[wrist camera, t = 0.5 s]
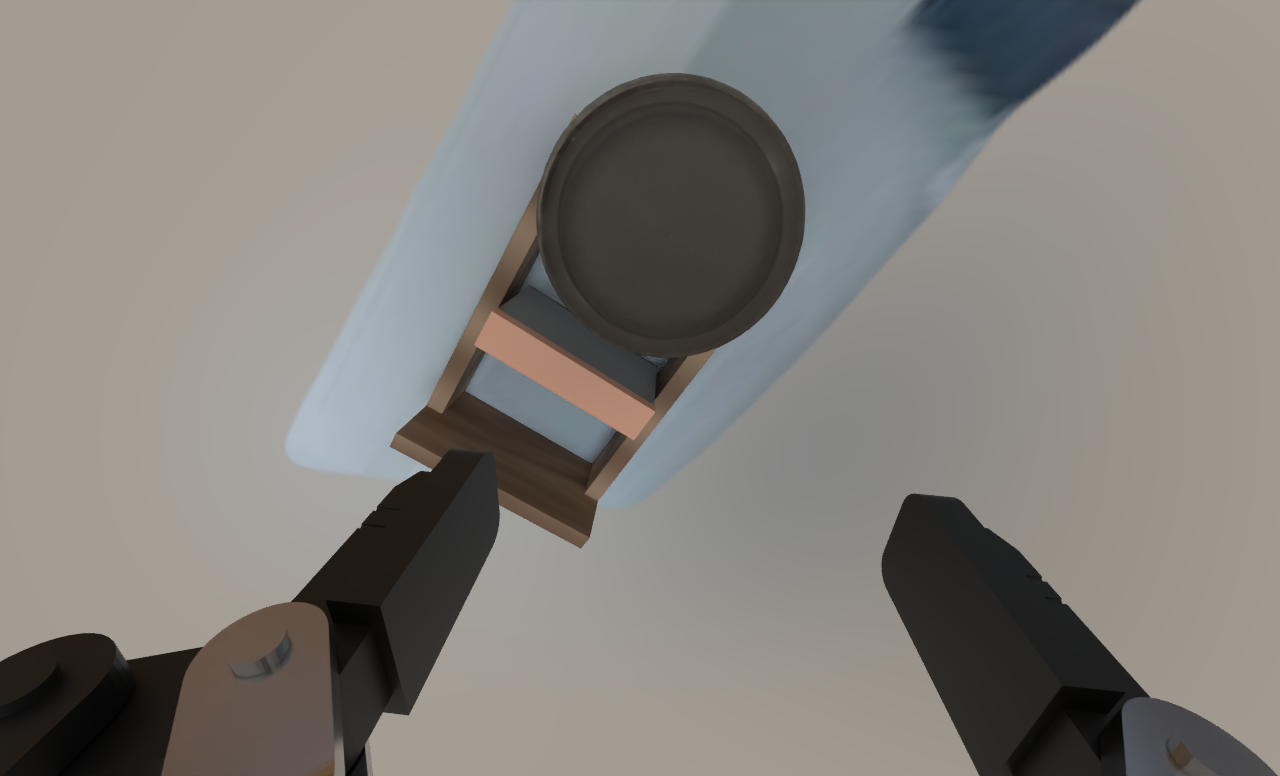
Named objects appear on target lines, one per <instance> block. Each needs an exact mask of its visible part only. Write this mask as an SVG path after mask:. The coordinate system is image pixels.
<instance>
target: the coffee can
mask: <svg viewBox="0 0 1280 776" xmlns="http://www.w3.org/2000/svg"><path fill="white" fill-rule="evenodd" d="M804 225H805V198H804V190H803V185H802V180H801V175H800V172H799V168H798V165H797V161H796V159H795V157H794V154H793V152H792V150H791V148H790V146H789V144H788V142H787V140H786V138H785V137H784V135H783V134H782V132H781V131H780V129H779V128H778V127H777V125H776V124H775V123H774V122H773V120H772V119H771V118H770V117H769V116H768V115H767V113H766V112H765V111H764V110H763V109H762V108H761V107H760V106H758V105H757V104H756V103H755V102H754V101H752V100H751V99H750V98H748V97H747V96H746V95H744V94H743V93H741V92H740V91H738V90H736V89H734V88H732V87H730V86H728V85H726V84H723V83H720V82H718V81H715V80H713V79H710V78H706V77H702V76H697V75H690V74H681V73H667V74H657V75H651V76H645V77H641V78H638V79H635V80H632V81H629V82H627V83H624V84H621V85H619V86H617V87H615V88H613V89H611V90H609V91H608V92H606V93H604V94H603V95H601V96H600V97H599V98H597V99H596V100H595V101H593V102H592V103H590V104H589V105H588V106H586V107H585V108H584V109H583V111H582V112H581V113H580V114H579V115H578V116H577V117H576V118H575V119H574V120H573V121H572V122H571V123H570V125H569V126H568V127H567V128H566V130H565V131H564V132H563V134H562V135H561V137H560V138H559V140H558V141H557V143H556V145H555V147H554V149H553V151H552V153H551V155H550V157H549V159H548V162H547V164H546V166H545V170H544V173H543V176H542V179H541V183H540V188H539V192H538V198H537V208H536V227H537V239H538V245H539V250H540V254H541V258H542V261H543V265H544V268H545V271H546V273H547V275H548V277H549V279H550V282H551V284H552V286H553V287H554V289H555V291H556V293H557V294H558V296H559V298H560V299H561V301H562V302H563V303H564V305H565V306H566V308H567V309H568V310H569V311H570V312H571V313H572V314H573V315H574V317H575V318H576V319H577V320H578V321H579V322H580V323H581V324H582V325H583V326H585V327H586V328H587V329H588V330H589V331H591V332H592V333H593V334H595V335H596V336H598V337H599V338H601V339H602V340H604V341H606V342H608V343H609V344H611V345H613V346H615V347H618V348H620V349H623V350H626V351H628V352H632V353H636V354H640V355H645V356H651V357H663V358H675V357H686V356H692V355H697V354H701V353H704V352H708V351H710V350H713V349H715V348H718V347H720V346H722V345H724V344H726V343H728V342H730V341H732V340H733V339H735V338H737V337H738V336H740V335H741V334H743V333H744V332H745V331H747V330H749V329H750V328H751V327H752V326H753V325H755V324H756V323H757V322H758V321H759V320H760V319H761V318H762V317H763V316H764V315H765V314H766V313H767V312H768V311H769V310H770V308H771V307H772V306H773V305H774V303H775V302H776V301H777V299H778V298H779V296H780V295H781V293H782V292H783V290H784V288H785V286H786V285H787V283H788V281H789V279H790V276H791V274H792V272H793V270H794V267H795V265H796V262H797V260H798V256H799V252H800V249H801V245H802V241H803V235H804Z"/></svg>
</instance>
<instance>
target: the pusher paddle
mask: <svg viewBox="0 0 1280 776" xmlns="http://www.w3.org/2000/svg"><path fill="white" fill-rule="evenodd" d="M474 345H475V346H476V347H478V348H480V349H481V350H483V351H485V352H487V353H488V354H490V355H492V356H493V357H495V358H497V359H498V360H500V361H502V362H503V363H505V364H507V365H508V366H510V367H512V368H513V369H515V370H517V371H518V372H520V373H522V374H523V375H525V376H527V377H528V378H530V379H532V380H533V381H535V382H537V383H539V384H540V385H542V386H544V387H545V388H547V389H549V390H550V391H552V392H554V393H555V394H557V395H559V396H560V397H562V398H564V399H565V400H567V401H569V402H570V403H572V404H574V405H575V406H577V407H579V408H580V409H582V410H584V411H585V412H587V413H589V414H590V415H592V416H594V417H596V418H597V419H599V420H601V421H602V422H604V423H606V424H607V425H609V426H611V427H612V428H614V429H616V430H617V431H619V432H621V433H622V434H624V435H626V436H627V437H629V438H631V439H632V440H635V438H636V437H637V436H638V434H639V433H640V432H641V430H642V429H643V428H644V427H645V425H646V424H647V423H648V421H649V420H650V419H651V417H652V416H653V415H654V413H655V412H656V406H655V405H654V403H655V388H656V373H657V367H656V366H654V365H653V364H651V363H650V362H648V361H646V360H645V359H643V358H642V357H640V356H639V355H637V354H635V353H632V352H628V351H626V350H623V349H620V348H618V347H615V346H613V345H611V344H609V343H608V342H606V341H604V340H602V339H601V338H599V337H598V336H596V335H595V334H593V333H592V332H591V331H589V330H588V329H587V328H586V327H585V326H583V325H582V324H581V323H580V322H579V321H578V320H577V319H576V318H575V317H574V315H573V314H572V313H571V312H570V311H568V310H566V309H565V308H563V307H562V306H560V305H559V304H557V303H555V302H554V301H552V300H551V299H549V298H548V297H546V296H544V295H543V294H541V293H540V292H538V291H537V290H535V289H533V288H532V287H530V286H528V287H527V288H525V289H524V290H523V291H521V292H520V293H519V294H517V295H516V296H514V297H513V298H512V299H510V300H509V301H508V302H506V303H505V304H503V305H502V306H501V307H499V308H496V309H494V310H493V311H492V312H491V314H490V316H489V317H488V319H487V321H486V323H485V325H484V327H483V329H482V331H481V333H480V335H479V337H478V338H477V340H476V342H475V344H474Z"/></svg>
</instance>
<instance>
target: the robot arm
mask: <svg viewBox="0 0 1280 776" xmlns="http://www.w3.org/2000/svg"><path fill="white" fill-rule="evenodd" d="M499 519H500V512H499V500H498V489H497V477H496V466H495V459H494V455H493V454H492V452H489V451H479V450H468V449H458V448H452V449H450V450H449V451H448V452H447V453H446V454H445V455H444V456H443V458H442V459H441V460H440V461H439V463H438V464H437V465H436V466H435V467H434V469H433V470H432V471H431V472H426V471H420V472H418V473H416V474H415V475H413V476H412V477H410V478H408V479H407V480H405V481H403V482H402V483H400V484H399V485H397V486H395V487H394V488H393V489H392V491H391V492H390V493H389V494H388V495H387V496H386V497H385V498H384V499H383V501H382V502H381V503H380V504H379V505H378V506H377V510H376V511H373V512H372V513H371V514H370V515H369V516H368V517H367V518H366V520H365V521H364V522H363V523H362V526H361V528H357V529H356V531H355V532H354V533H353V534H352V535H351V536H350V537H349V538H348V539H347V541H346V542H345V543H344V544H343V545H342V546H341V547H340V548H339V549H338V551H337V552H336V553H335V554H334V555H333V556H332V557H331V558H330V560H329V561H328V562H327V563H326V564H325V565H324V566H323V567H322V568H321V569H320V571H319V572H318V573H317V574H316V575H315V576H314V577H313V578H312V580H311V581H310V582H309V583H308V584H307V585H306V586H305V587H304V588H303V589H302V591H301V592H300V593H299V594H298V595H297V596H296V597H295V598H294V599H293V600H292V601H291V602H288V603H282V604H276V605H273V606H269V607H266V608H263V609H260V610H258V611H255V612H253V613H251V614H249V615H247V616H245V617H243V618H241V619H239V620H238V621H236V622H234V623H232V624H231V625H229V626H228V627H226V628H225V629H224V630H222V631H221V632H219V633H218V634H217V635H216V636H215V637H213V638H212V639H211V640H210V641H209V642H208V643H207V644H206V645H205V646H204V647H200V648H194V649H188V650H184V651H177V652H171V653H166V654H160V655H154V656H149V657H143V658H138V659H132V660H125V658H124V657H123V655H122V654H121V652H120V651H119V649H118V648H117V646H116V644H115V643H114V642H113V641H112V640H111V639H110V638H109V637H107V636H105V635H102V634H95V633H82V634H75V635H68V636H64V637H60V638H56V639H53V640H50V641H47V642H44V643H40V644H38V645H35V646H33V647H30V648H28V649H25V650H23V651H21V652H19V653H17V654H15V655H12V656H10V657H8V658H6V659H4V660H3V661H1V662H0V776H373V773H372V763H371V754H370V745H369V741H368V738H369V737H370V735H371V733H372V731H373V729H374V727H375V726H376V724H377V722H378V720H379V718H380V716H381V715H382V713H383V712H386V713H394V714H403V715H409V714H410V712H411V710H412V708H413V706H414V704H415V702H416V700H417V698H418V696H419V694H420V692H421V690H422V688H423V686H424V684H425V682H426V680H427V678H428V676H429V674H430V672H431V670H432V668H433V666H434V664H435V662H436V659H437V657H438V656H439V653H440V652H441V649H442V647H443V645H444V643H445V641H446V639H447V637H448V635H449V633H450V631H451V629H452V627H453V625H454V623H455V621H456V619H457V617H458V615H459V613H460V611H461V609H462V607H463V605H464V603H465V601H466V599H467V597H468V595H469V593H470V591H471V589H472V587H473V585H474V583H475V581H476V579H477V577H478V575H479V573H480V571H481V569H482V567H483V565H484V563H485V561H486V558H487V557H488V555H489V553H490V551H491V549H492V547H493V544H494V542H495V539H496V536H497V532H498V527H499ZM882 576H883V580H884V584H885V586H886V589H887V590H888V593H889V595H890V597H891V599H892V601H893V603H894V605H895V607H896V609H897V611H898V613H899V615H900V617H901V619H902V621H903V623H904V625H905V627H906V629H907V631H908V633H909V635H910V637H911V639H912V641H913V643H914V645H915V647H916V649H917V651H918V653H919V655H920V657H921V659H922V661H923V663H924V665H925V667H926V669H927V671H928V673H929V675H930V677H931V679H932V681H933V683H934V685H935V687H936V689H937V691H938V693H939V695H940V697H941V699H942V701H943V703H944V705H945V707H946V709H947V711H948V713H949V715H950V717H951V719H952V721H953V723H954V725H955V727H956V729H957V731H958V733H959V735H960V737H961V739H962V741H963V743H964V745H965V747H966V749H967V751H968V753H969V755H970V757H971V759H972V761H973V763H974V765H975V768H976V769H977V771H978V774H979V775H980V776H1278V775H1277V774H1276V773H1275V772H1274V771H1273V770H1272V769H1271V768H1270V767H1269V766H1268V765H1267V764H1266V763H1265V762H1263V761H1262V760H1261V759H1260V758H1259V757H1258V756H1257V755H1256V754H1255V753H1253V752H1252V751H1251V750H1250V749H1248V748H1247V747H1246V746H1245V745H1243V744H1242V743H1241V742H1240V741H1238V740H1237V739H1235V738H1234V737H1233V736H1231V735H1230V734H1229V733H1227V732H1225V731H1224V730H1222V729H1221V728H1219V727H1218V726H1216V725H1215V724H1213V723H1212V722H1210V721H1208V720H1206V719H1204V718H1203V717H1201V716H1199V715H1197V714H1195V713H1193V712H1191V711H1189V710H1187V709H1185V708H1183V707H1180V706H1178V705H1175V704H1172V703H1170V702H1167V701H1163V700H1160V699H1155V698H1150V697H1149V695H1148V694H1147V693H1146V692H1145V691H1144V690H1143V689H1142V688H1141V687H1140V686H1139V684H1138V683H1137V682H1136V681H1135V680H1134V679H1133V678H1132V677H1131V675H1130V674H1129V673H1128V672H1127V671H1126V670H1125V669H1124V668H1123V666H1121V664H1120V663H1119V662H1118V661H1117V660H1116V659H1115V658H1114V656H1113V655H1112V654H1111V653H1110V652H1109V651H1108V650H1107V649H1106V647H1105V646H1104V645H1102V643H1101V642H1100V641H1099V640H1098V639H1097V637H1096V636H1095V635H1094V634H1093V633H1092V632H1091V631H1090V630H1089V629H1088V627H1087V626H1086V625H1085V624H1084V623H1083V622H1082V621H1081V620H1080V619H1079V617H1078V616H1077V615H1076V614H1075V613H1074V612H1073V611H1072V610H1071V609H1070V607H1069V606H1068V605H1067V604H1062V602H1061V597H1060V596H1059V595H1058V594H1057V593H1056V592H1055V591H1054V590H1053V589H1052V587H1051V586H1050V585H1049V584H1048V583H1047V582H1044V581H1042V579H1041V578H1042V576H1041V575H1040V574H1039V573H1038V572H1037V571H1036V569H1035V568H1034V567H1033V566H1032V565H1031V564H1030V563H1029V562H1028V561H1027V560H1026V558H1025V557H1024V556H1023V555H1022V554H1021V553H1020V552H1019V551H1018V550H1017V549H1015V548H1014V547H1013V546H1011V545H1010V544H1009V543H1007V542H1006V541H1004V540H1003V539H1002V538H1000V537H999V536H998V535H996V534H995V533H993V532H992V531H991V530H989V529H988V528H984V527H983V525H982V524H981V523H980V522H979V521H978V520H977V518H976V517H975V516H974V515H973V514H972V513H971V511H970V510H969V509H968V508H967V507H966V506H965V504H964V503H963V502H962V501H960V500H959V499H957V498H953V497H944V496H933V495H923V494H910V495H908V496H907V497H906V499H905V500H904V502H903V504H902V506H901V509H900V511H899V514H898V517H897V519H896V522H895V524H894V527H893V530H892V532H891V534H890V537H889V540H888V542H887V545H886V547H885V550H884V553H883V556H882Z"/></svg>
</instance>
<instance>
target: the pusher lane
mask: <svg viewBox="0 0 1280 776" xmlns="http://www.w3.org/2000/svg"><path fill="white" fill-rule="evenodd" d="M577 116H578V115H576V114H574V116H573V118H572V120H571V122H572V121H573V120H574V119H575V118H576V117H577ZM571 122H570V123H571ZM569 125H570V124H569ZM540 183H541V181H540ZM540 183H539V185H538V187H537V189H536V191H535V193H534V195H533V197H532V199H531V201H530V203H529V205H528V207H527V209H526V211H525V213H524V215H523V216H522V218H521V220H520V222H519V224H518V226H517V228H516V230H515V232H514V234H513V236H512V238H511V240H510V242H509V244H508V246H507V248H506V250H505V252H504V254H503V256H502V258H501V260H500V262H499V264H498V266H497V268H496V270H495V272H494V274H493V276H492V278H491V280H490V281H489V283H488V285H487V287H486V289H485V291H484V293H483V295H482V297H481V299H480V301H479V303H478V305H477V307H476V309H475V311H474V313H473V315H472V317H471V319H470V321H469V323H468V325H467V327H466V329H465V331H464V333H463V335H462V337H461V339H460V341H459V343H458V345H457V346H456V348H455V350H454V352H453V354H452V356H451V358H450V360H449V362H448V364H447V366H446V368H445V370H444V372H443V374H442V376H441V378H440V380H439V382H438V384H437V386H436V388H435V390H434V392H433V394H432V396H431V398H430V400H429V402H428V404H427V406H425V407H424V408H423V409H422V410H421V411H420V412H419V413H418V414H417V415H416V416H414V417H413V418H412V419H411V420H410V421H409V422H408V423H407V424H406V425H405V426H404V427H402V428H401V429H400V430H399V431H398V432H397V433H396V435H395V437H394V439H393V441H392V443H391V445H390V447H392V448H393V449H395V450H397V451H399V452H401V453H403V454H405V455H407V456H408V457H410V458H412V459H414V460H416V461H418V462H420V463H422V464H423V465H425V466H427V467H429V468H431V469H434V467H435V466H436V465H437V464H438V463H439V461H440V460H441V459H442V458H443V456H444V455H445V454H446V453H447V452H448V451H449V450H450V449H452V448H458V449H468V450H479V451H489V452H492V454H493V455H494V459H495V466H496V477H497V489H498V500H499V505H500V506H502V507H504V508H506V509H508V510H510V511H512V512H514V513H515V514H517V515H519V516H521V517H523V518H525V519H527V520H529V521H530V522H532V523H534V524H536V525H538V526H540V527H542V528H544V529H545V530H547V531H549V532H551V533H553V534H555V535H557V536H559V537H560V538H562V539H564V540H566V541H568V542H570V543H572V544H574V545H575V546H577V547H579V548H582V546H583V545H584V544H585V543H586V541H587V540H588V539H589V538H590V534H591V529H592V525H593V520H594V516H595V511H596V507H597V503H598V500H599V499H600V498H601V496H602V495H603V494H604V493H605V491H606V490H607V489H608V487H609V486H610V485H611V484H612V482H613V481H614V480H615V478H616V477H617V476H618V475H619V473H620V472H621V471H622V469H623V468H624V467H625V466H626V464H627V463H628V462H629V460H630V459H631V458H632V456H633V455H634V454H635V453H636V451H637V450H638V449H639V447H640V446H641V445H642V444H643V442H644V441H645V440H646V438H647V437H648V436H649V435H650V433H651V432H652V431H653V429H654V428H655V427H656V426H657V424H658V423H659V422H660V420H661V419H662V418H663V417H664V415H665V414H666V413H667V411H668V410H669V409H670V408H671V406H672V405H673V404H674V402H675V401H676V400H677V399H678V397H679V396H680V395H681V393H682V392H683V391H684V389H685V388H686V387H687V386H688V384H689V383H690V382H691V380H692V379H693V378H694V377H695V375H696V374H697V373H698V371H699V370H700V369H701V368H702V366H703V365H704V364H705V362H706V361H707V360H708V359H709V357H710V356H711V355H712V353H713V352H714V351H715V350H716V348H715V349H713V350H710V351H708V352H704V353H701V354H697V355H692V356H686V357H675V358H671V359H670V360H669V361H668V363H667V364H666V365H665V367H664V368H663V370H662V371H661V372H660V374H659V375H658V376H657V378H656V388H655V403H654V405H655V406H656V412H655V413H654V415H653V416H652V417H651V419H650V420H649V421H648V423H647V424H646V425H645V427H644V428H643V429H642V430H641V432H640V433H639V434H638V436H637V437H636V438H635V440H632V439H631V438H629V437H627V436H626V435H624V434H622V433H621V432H619V431H617V432H616V433H615V435H614V436H613V437H612V439H611V440H610V441H609V443H608V444H607V446H606V447H605V448H604V450H603V451H602V452H601V454H600V455H599V456H598V458H597V459H596V461H595V462H594V463H593V465H592V464H590V463H589V462H587V461H585V460H583V459H582V458H580V457H578V456H577V455H575V454H573V453H571V452H570V451H568V450H566V449H564V448H563V447H561V446H559V445H557V444H556V443H554V442H552V441H550V440H549V439H547V438H545V437H543V436H542V435H540V434H538V433H536V432H535V431H533V430H531V429H529V428H528V427H526V426H524V425H523V424H521V423H519V422H517V421H516V420H514V419H512V418H510V417H509V416H507V415H505V414H503V413H502V412H500V411H498V410H496V409H495V408H493V407H491V406H489V405H488V404H486V403H484V402H482V401H481V400H479V399H477V398H475V397H474V396H472V395H470V394H469V393H467V392H465V389H466V387H467V386H468V384H469V382H470V380H471V378H472V376H473V374H474V373H475V371H476V369H477V367H478V365H479V363H480V361H481V360H482V358H483V356H484V354H485V351H483V350H481V349H480V348H478V347H476V346H475V345H474V344H475V342H476V340H477V338H478V337H479V335H480V333H481V331H482V329H483V327H484V325H485V323H486V321H487V319H488V317H489V316H490V314H491V312H492V311H493V310H494V309H496V308H499V307H501V306H502V305H503V304H505V303H506V302H508V301H509V300H510V299H512V298H513V297H514V296H516V295H517V293H518V291H519V289H520V287H521V286H522V284H523V282H524V280H525V278H526V276H527V275H528V273H529V271H530V269H531V267H532V265H533V263H534V262H535V260H536V258H537V256H538V254H539V252H540V250H539V245H538V239H537V227H536V208H537V198H538V192H539V188H540Z"/></svg>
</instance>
